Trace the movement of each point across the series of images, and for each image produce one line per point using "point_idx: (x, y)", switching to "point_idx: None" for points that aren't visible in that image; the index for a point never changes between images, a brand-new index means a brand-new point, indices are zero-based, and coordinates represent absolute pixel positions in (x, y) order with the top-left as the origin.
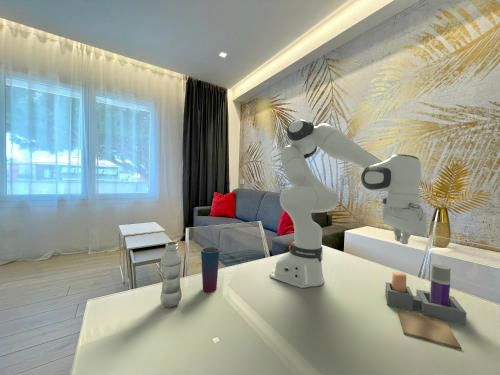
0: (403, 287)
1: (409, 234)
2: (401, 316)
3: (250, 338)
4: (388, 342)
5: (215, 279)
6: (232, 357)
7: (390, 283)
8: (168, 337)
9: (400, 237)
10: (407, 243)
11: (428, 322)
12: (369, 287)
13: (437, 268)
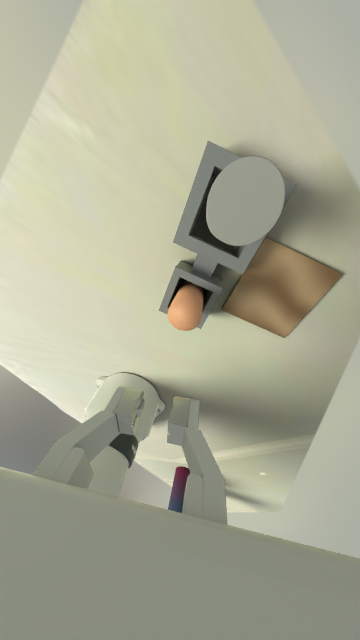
0: (202, 302)
1: (222, 488)
2: (244, 316)
3: (264, 459)
4: (295, 364)
5: (185, 484)
6: (285, 469)
7: (164, 303)
8: (256, 490)
9: (135, 418)
10: (198, 402)
11: (267, 279)
12: (137, 311)
13: (255, 241)
